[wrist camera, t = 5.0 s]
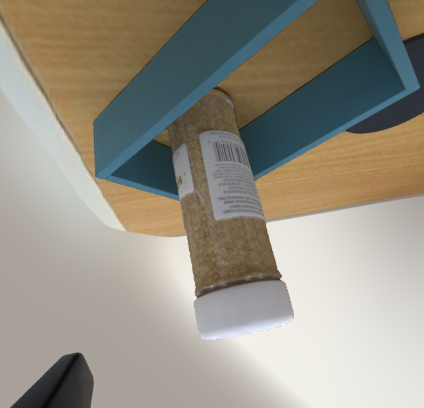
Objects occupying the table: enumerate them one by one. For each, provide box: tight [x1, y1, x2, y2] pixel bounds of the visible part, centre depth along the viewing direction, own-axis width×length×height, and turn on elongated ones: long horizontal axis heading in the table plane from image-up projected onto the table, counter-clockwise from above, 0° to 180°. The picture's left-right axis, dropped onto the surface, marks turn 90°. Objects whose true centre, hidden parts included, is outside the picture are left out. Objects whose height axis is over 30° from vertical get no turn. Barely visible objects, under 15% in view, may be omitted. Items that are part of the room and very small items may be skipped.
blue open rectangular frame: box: [93, 0, 420, 201], centre depth 18 cm, size 9×15×4 cm, turn 132°
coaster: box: [345, 34, 424, 133], centre depth 22 cm, size 9×9×1 cm
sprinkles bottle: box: [167, 89, 294, 340], centre depth 17 cm, size 5×5×13 cm
